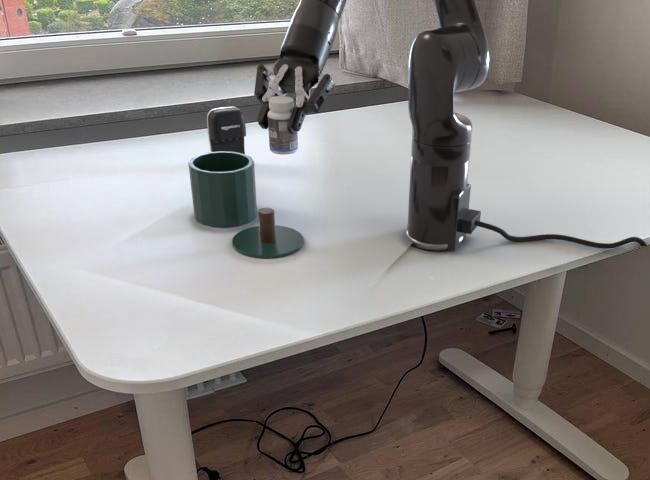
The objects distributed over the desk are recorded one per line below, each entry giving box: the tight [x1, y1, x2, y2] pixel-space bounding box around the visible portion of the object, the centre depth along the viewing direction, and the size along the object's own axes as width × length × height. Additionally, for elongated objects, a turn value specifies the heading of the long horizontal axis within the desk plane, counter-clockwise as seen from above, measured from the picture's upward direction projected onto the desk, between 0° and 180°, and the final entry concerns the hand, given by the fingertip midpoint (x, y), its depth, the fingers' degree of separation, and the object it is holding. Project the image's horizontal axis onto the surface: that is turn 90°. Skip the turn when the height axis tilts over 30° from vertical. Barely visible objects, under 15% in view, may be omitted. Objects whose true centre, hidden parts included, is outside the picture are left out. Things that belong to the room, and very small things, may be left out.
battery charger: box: [206, 106, 247, 154], centre depth 151 cm, size 7×4×11 cm, turn 122°
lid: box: [231, 207, 305, 259], centre depth 124 cm, size 11×11×6 cm
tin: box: [187, 151, 258, 229], centre depth 131 cm, size 10×10×10 cm
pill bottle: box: [267, 95, 299, 156], centre depth 127 cm, size 5×5×8 cm
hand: (276, 128), depth 125 cm, fingers closed on pill bottle, 4 cm apart
